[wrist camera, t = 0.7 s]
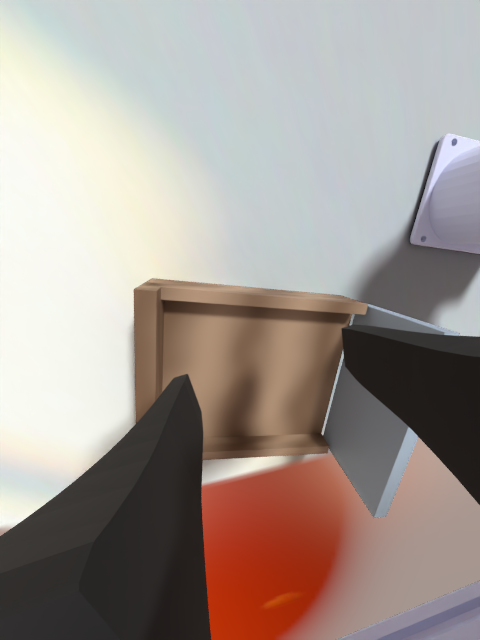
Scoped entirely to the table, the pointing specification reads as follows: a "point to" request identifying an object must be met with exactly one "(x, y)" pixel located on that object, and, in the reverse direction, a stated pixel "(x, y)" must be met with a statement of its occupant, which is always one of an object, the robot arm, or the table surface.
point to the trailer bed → (243, 361)
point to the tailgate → (372, 425)
